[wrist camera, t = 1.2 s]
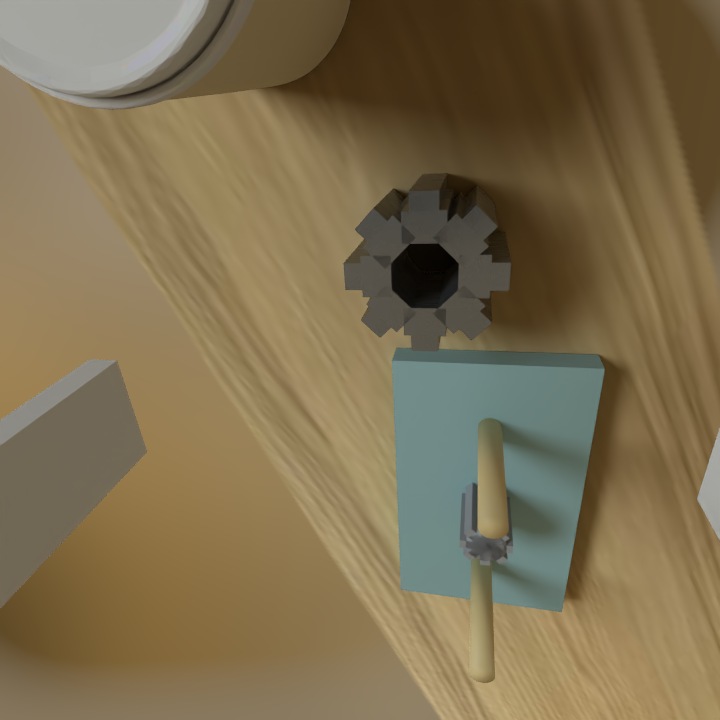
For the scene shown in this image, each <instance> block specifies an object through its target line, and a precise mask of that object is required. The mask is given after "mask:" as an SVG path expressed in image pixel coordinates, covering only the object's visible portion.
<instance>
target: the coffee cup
mask: <svg viewBox="0 0 720 720" xmlns="http://www.w3.org/2000/svg"><path fill="white" fill-rule="evenodd" d="M350 1H351V0H0V65H1V66H3V67H4V68H6V69H8V70H10V71H11V72H12V73H13V74H15V75H16V76H17V77H19V78H21V79H22V80H24V81H25V82H27V83H29V84H30V85H32V86H34V87H35V88H37V89H39V90H41V91H43V92H45V93H47V94H50V95H52V96H54V97H56V98H59V99H62V100H65V101H68V102H70V103H74V104H78V105H83V106H88V107H92V108H100V109H112V110H114V109H131V108H136V107H142V106H147V105H152V104H155V103H158V102H161V101H164V100H170V99H179V98H188V97H196V96H205V95H214V94H222V93H230V92H238V91H245V90H253V89H260V88H267V87H273V86H277V85H282V84H286V83H289V82H292V81H294V80H297V79H299V78H301V77H302V76H304V75H306V74H307V73H309V72H310V71H311V70H313V69H314V68H315V67H316V66H317V65H318V64H319V63H320V62H321V61H322V60H323V59H324V58H325V57H326V56H327V54H328V53H329V51H330V50H331V49H332V47H333V46H334V44H335V42H336V40H337V39H338V37H339V35H340V32H341V30H342V28H343V26H344V23H345V20H346V17H347V14H348V10H349V5H350Z"/></svg>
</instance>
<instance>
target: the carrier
mask: <svg viewBox="0 0 720 720" xmlns="http://www.w3.org/2000/svg"><path fill="white" fill-rule="evenodd" d="M392 370H393V395H394V421H395V446H396V472H397V497H398V523H399V548H400V574H401V590H406V591H414V592H421V593H428V594H435V595H442V596H450V597H457V598H464V599H471V601H470V658H469V675H470V677H471V678H472V679H474V680H475V681H478V682H482V683H488V682H491V681H493V680H494V678H495V667H494V630H493V603H500V604H507V605H514V606H522V607H529V608H536V609H543V610H550V611H558V612H562V608H563V603H564V597H565V591H566V586H567V580H568V574H569V569H570V563H571V558H572V552H573V546H574V541H575V535H576V529H577V524H578V518H579V512H580V507H581V501H582V496H583V490H584V484H585V479H586V473H587V467H588V462H589V456H590V451H591V445H592V439H593V434H594V428H595V422H596V417H597V411H598V406H599V400H600V394H601V389H602V383H603V377H604V372H605V368H604V366H603V364H602V361H601V359H600V357H599V355H593V354H563V353H532V352H502V351H471V350H441V349H438V352H437V351H412V349H411V348H396V351H395V354H394V357H393V360H392Z"/></svg>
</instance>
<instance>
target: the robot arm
mask: <svg viewBox="0 0 720 720" xmlns="http://www.w3.org/2000/svg"><path fill="white" fill-rule="evenodd" d="M146 452H147V450H146V447H145V444H144V441H143V438H142V435H141V432H140V429H139V426H138V423H137V420H136V417H135V414H134V411H133V408H132V405H131V402H130V399H129V396H128V393H127V390H126V386H125V383H124V381H123V377H122V375H121V372H120V368H119V365H118V362H117V361H114V360H88V361H87V362H85V363H84V364H82V365H81V366H79V367H78V368H76V369H75V370H74V371H72V372H71V373H69V374H68V375H66V376H65V377H63V378H62V379H60V380H59V381H57V382H56V383H55V384H53V385H51V386H50V387H48V388H47V389H45V390H44V391H43V392H41V393H39V394H38V395H36V396H35V397H34V398H32V399H31V400H29V401H28V402H26V403H25V404H23V405H22V406H20V407H19V408H17V409H16V410H14V411H13V412H11V413H10V414H8V415H7V416H5V417H4V418H2V419H1V420H0V608H1V607H2V606H3V605H4V604H5V603H6V602H7V601H8V600H9V599H10V598H11V597H12V595H13V594H14V593H15V592H16V591H17V590H18V589H19V588H20V587H21V586H22V585H23V584H24V583H25V582H26V580H27V579H28V578H29V577H30V576H31V575H32V574H33V573H34V572H35V571H36V570H37V569H38V568H39V567H40V566H41V565H42V563H43V562H44V561H45V560H46V559H47V558H48V557H49V556H50V555H51V554H52V553H53V552H54V550H56V549H57V547H58V546H59V545H60V544H61V543H62V542H63V541H64V540H65V539H66V538H67V537H68V536H69V535H70V534H71V532H72V531H73V530H74V529H75V528H76V527H77V526H78V525H79V524H80V523H81V522H82V521H83V520H84V519H85V518H86V516H87V515H88V514H89V513H90V512H91V511H92V510H93V509H94V508H95V507H96V506H97V505H98V504H99V502H100V501H101V500H102V499H103V498H104V497H105V496H106V495H107V494H108V493H109V492H110V491H111V490H112V489H113V488H114V487H115V485H116V484H117V483H118V482H119V481H120V480H121V479H122V478H123V477H124V476H125V475H126V474H127V473H128V472H129V471H130V469H131V468H132V467H133V466H134V465H135V464H136V463H137V462H138V461H139V460H140V459H141V458H142V457H143V455H145V453H146ZM697 500H698V502H699V503H700V505H701V507H702V509H703V511H704V513H705V515H706V516H707V518H708V520H709V522H710V524H711V526H712V528H713V529H714V531H715V533H716V535H717V537H718V539H719V540H720V429H719V432H718V435H717V438H716V441H715V445H714V448H713V451H712V454H711V457H710V460H709V463H708V467H707V470H706V473H705V476H704V479H703V482H702V485H701V488H700V492H699V495H698V498H697Z"/></svg>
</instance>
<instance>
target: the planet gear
mask: <svg viewBox="0 0 720 720" xmlns="http://www.w3.org/2000/svg"><path fill="white" fill-rule="evenodd" d="M453 198H454V190H447V173H444V174H422V176H421V177H420V178H419V179H418V180H417V182H416V183H415V184H414V185H413V187H412V188H411V189H410V190H409V195H408V196H407V197H406V198H405V199H404V198H403V197H402V196H401V195H400V194H399V193H398V192H397V191H396V190H395V189H394V188H393V189H392V190H391V191H390V192H389V193H388V194H387V195H386V196H385V197H384V198H383V199H382V200H381V201H380V202H379V203H378V204H377V205H376V206H375V207H374V208H373V209H372V210H371V212H370V213H369V214H368V215H367V216H366V217H365V218H364V219H363V221H362V222H361V223H360V224H359V225H358V226H357V227H356V229H355V230H356V231H357V232H358V233H359V234H360V235H361V236H362V237H363V238H364V240H363V241H362V242H361V244H360V245H359V246H358V247H357V248H356V249H355V251H354V252H353V253H352V254H351V255H350V256H349V258H348V259H347V260H346V261H345V262H344V276H345V288H346V290H362V291H363V297H370V299H369V301H368V303H367V305H368V308H367V310H366V312H365V314H364V315H363V317H362V319H361V321H362V322H363V323H364V324H365V325H367V326H368V327H369V328H370V329H371V330H372V331H373V332H374V333H375V334H376V335H377V336H379V337H381V336H383V335H384V334H385V333H386V332H387V331H388V330H389V329H390V328H393V329H394V330H395V331H396V332H397V331H398V330H399V329H400V328H401V327H403V326H404V335H411V342H412V351H437V352H438V349H439V343H440V337H441V336H446V331H447V328H448V329H449V330H450V331H451V332H452V333H455V332H456V331H457V330H458V329H460V330H461V331H462V332H463V333H464V334H465V335H466V336H467V337H468V338H469V339H470V340H472V339H474V338H475V337H476V336H477V335H478V334H480V333H481V332H482V331H483V330H484V329H486V328H487V327H488V326H489V325H490V324H492V312H491V295H490V291H509V285H510V271H511V260H510V255H509V250H508V245H507V240H506V235H505V232H493V231H494V230H495V229H496V228H497V227H498V224H497V217H496V211H495V204H494V202H493V201H492V200H491V199H490V198H489V197H488V196H487V195H486V194H485V193H484V192H483V191H482V190H481V189H480V188H479V187H478V186H476V187H475V188H474V189H473V190H472V191H471V192H470V193H469V194H468V195H467V196H466V197H465V196H464V195H463V194H462V193H460V194H459V195H458V196H457V197H456V198H455V199H454V200H453ZM492 232H493V233H492ZM430 243H439V244H440V245H441V246H442V247H443V248H444V249H445V250H446V251H447V252H448V253H449V254H450V255H451V256H452V257H453V258H454V259H455V260H456V262H455V263H454V264H453V265H452V266H451V267H450V268H449V269H448V270H447V271H446V272H423V271H422V270H421V269H420V268H419V267H418V266H417V265H416V264H415V263H414V262H413V261H412V260H411V259H410V258H409V257H408V256H407V246H408V245H409V244H430Z"/></svg>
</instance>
